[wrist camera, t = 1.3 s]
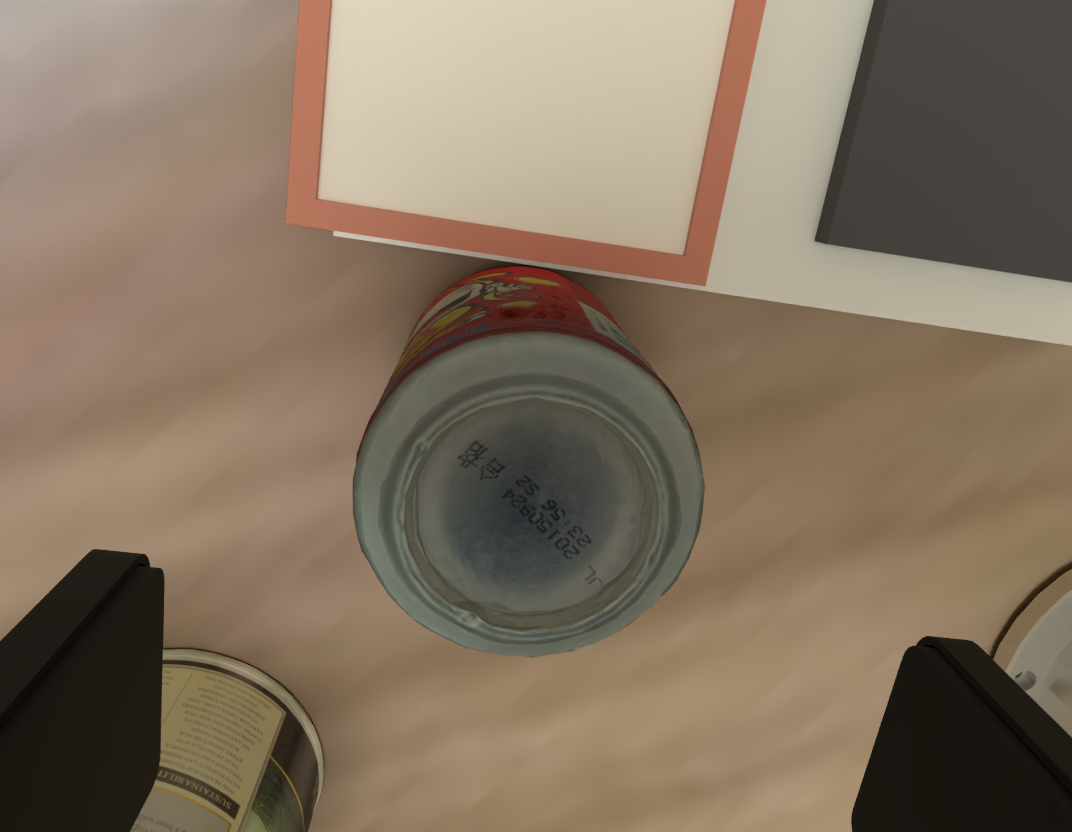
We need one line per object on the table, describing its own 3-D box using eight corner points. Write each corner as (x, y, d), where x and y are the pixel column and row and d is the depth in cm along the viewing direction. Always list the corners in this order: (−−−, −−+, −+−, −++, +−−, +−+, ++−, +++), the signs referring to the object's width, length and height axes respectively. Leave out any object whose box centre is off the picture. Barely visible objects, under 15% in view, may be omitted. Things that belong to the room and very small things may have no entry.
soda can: (496, 210, 26) (501, 256, 14) (663, 348, 27) (794, 493, 15) (363, 382, 27) (266, 554, 15) (530, 503, 29) (557, 742, 17)
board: (1200, -91, 24) (1235, -104, 23) (1052, 338, 28) (1077, 346, 27) (381, -261, 22) (374, -284, 21) (340, 232, 25) (333, 235, 24)
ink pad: (1191, -28, 23) (1221, -36, 22) (1083, 283, 26) (1106, 287, 25) (895, -87, 23) (913, -98, 22) (814, 241, 25) (826, 244, 24)
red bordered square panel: (800, -186, 22) (807, -194, 21) (701, 283, 25) (705, 286, 25) (321, -286, 21) (318, -296, 20) (289, 222, 24) (285, 223, 24)
